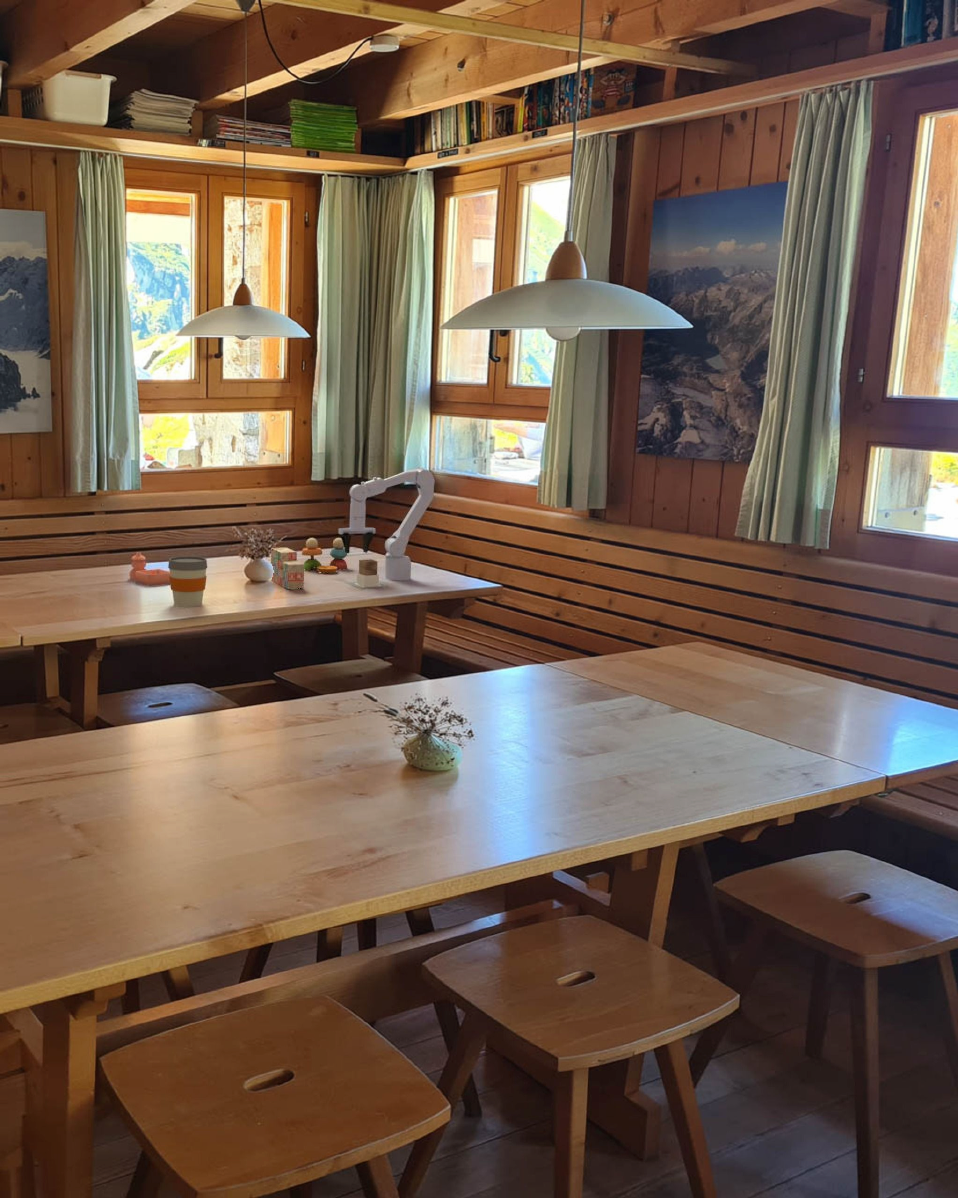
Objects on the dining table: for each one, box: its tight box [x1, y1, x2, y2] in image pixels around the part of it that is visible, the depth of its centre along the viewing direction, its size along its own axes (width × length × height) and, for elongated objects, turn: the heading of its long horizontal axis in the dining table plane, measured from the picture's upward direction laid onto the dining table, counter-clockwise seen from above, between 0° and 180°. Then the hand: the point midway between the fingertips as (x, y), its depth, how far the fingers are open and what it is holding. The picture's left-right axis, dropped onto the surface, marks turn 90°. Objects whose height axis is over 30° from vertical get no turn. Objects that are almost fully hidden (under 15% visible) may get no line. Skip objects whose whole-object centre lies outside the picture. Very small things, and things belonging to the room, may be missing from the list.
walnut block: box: [358, 558, 378, 576], centre depth 435 cm, size 5×5×5 cm
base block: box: [356, 572, 380, 587], centre depth 436 cm, size 6×6×4 cm
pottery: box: [129, 551, 170, 587], centre depth 428 cm, size 18×10×10 cm, turn 47°
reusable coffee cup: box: [167, 555, 208, 608], centre depth 390 cm, size 13×13×15 cm
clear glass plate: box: [345, 581, 390, 590], centre depth 436 cm, size 12×14×1 cm
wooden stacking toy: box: [301, 537, 348, 574], centre depth 466 cm, size 18×17×12 cm
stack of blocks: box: [270, 547, 305, 590], centre depth 432 cm, size 21×6×12 cm, turn 26°
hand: (356, 552), depth 446 cm, fingers open, 7 cm apart
